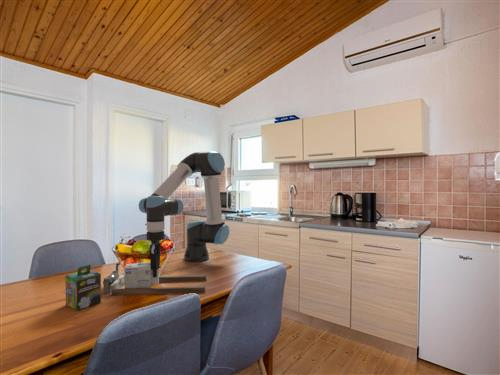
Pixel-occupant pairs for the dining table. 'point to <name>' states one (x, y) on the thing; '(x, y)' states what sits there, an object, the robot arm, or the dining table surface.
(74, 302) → the chalk box
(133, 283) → the light bulb box
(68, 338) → the dining table surface
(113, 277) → the winch
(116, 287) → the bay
